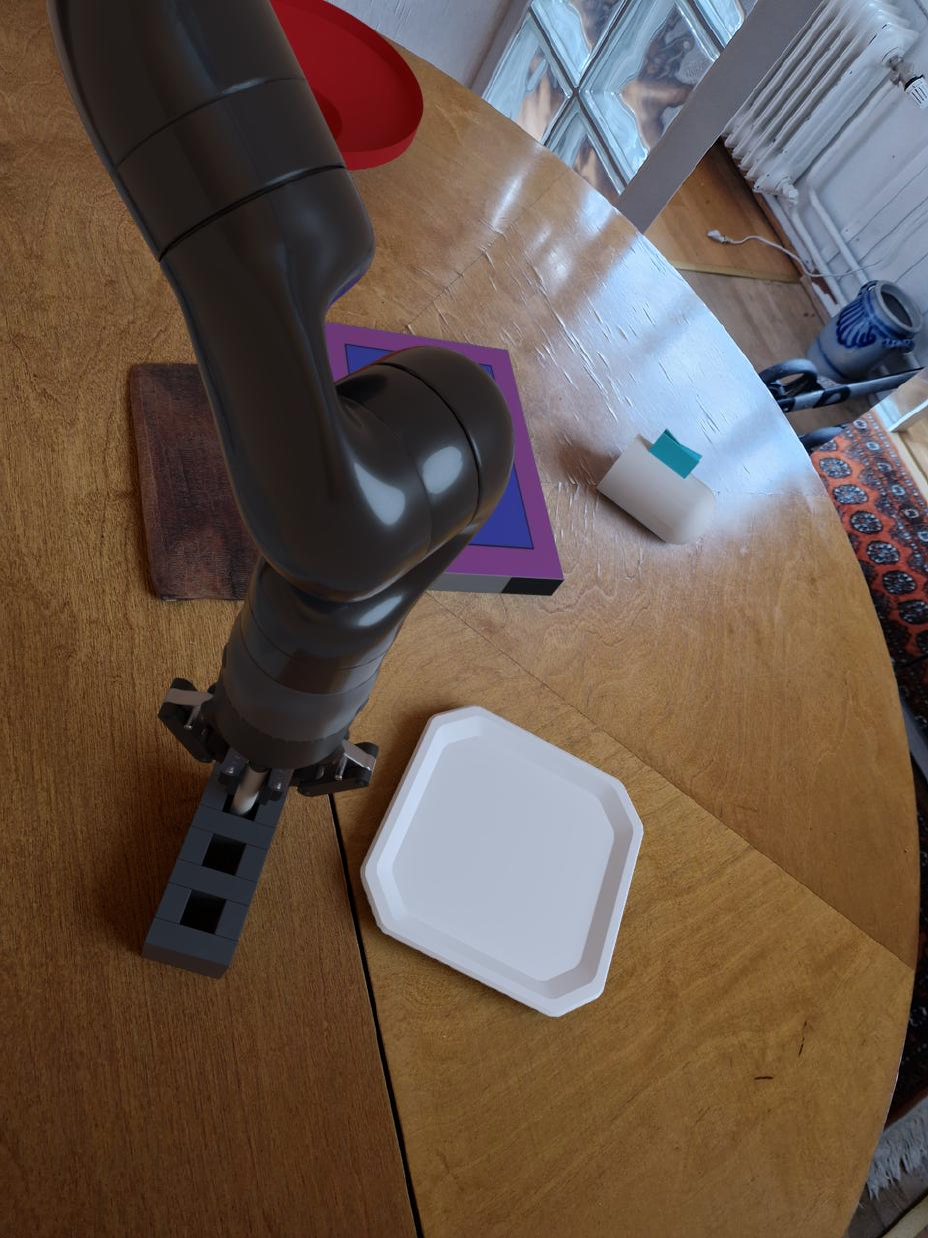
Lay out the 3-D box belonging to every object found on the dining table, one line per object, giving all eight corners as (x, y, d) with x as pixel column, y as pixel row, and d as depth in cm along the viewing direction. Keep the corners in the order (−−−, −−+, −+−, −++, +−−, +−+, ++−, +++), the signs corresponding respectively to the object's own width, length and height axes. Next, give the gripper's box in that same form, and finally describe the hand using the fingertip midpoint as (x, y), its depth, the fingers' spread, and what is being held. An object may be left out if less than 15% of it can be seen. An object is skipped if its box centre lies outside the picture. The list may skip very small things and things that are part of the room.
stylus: (223, 821, 65) (246, 761, 55) (232, 804, 66) (257, 742, 56) (241, 829, 65) (267, 771, 55) (249, 813, 66) (277, 752, 56)
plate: (436, 695, 77) (444, 684, 75) (641, 804, 79) (654, 796, 77) (334, 917, 65) (341, 910, 63) (579, 1040, 67) (593, 1037, 65)
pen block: (220, 980, 60) (229, 967, 56) (140, 957, 59) (144, 942, 55) (281, 800, 68) (293, 777, 64) (211, 777, 67) (219, 753, 63)
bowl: (148, 35, 110) (152, -54, 102) (384, 94, 121) (405, 18, 113) (150, 196, 96) (156, 108, 88) (417, 246, 107) (443, 172, 99)
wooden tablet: (125, 351, 82) (236, 350, 85) (127, 369, 84) (235, 367, 87) (150, 599, 71) (277, 588, 74) (152, 613, 73) (275, 601, 76)
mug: (739, 498, 89) (643, 425, 89) (681, 565, 93) (590, 495, 94) (747, 472, 99) (661, 406, 99) (694, 533, 103) (612, 470, 104)
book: (508, 349, 99) (564, 579, 85) (498, 369, 101) (551, 595, 87) (321, 320, 91) (349, 568, 77) (315, 342, 94) (341, 586, 80)
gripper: (437, 655, 49) (360, 768, 63) (194, 566, 47) (170, 704, 61) (405, 779, 45) (330, 870, 59) (137, 688, 42) (125, 806, 56)
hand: (249, 785), depth 59 cm, fingers closed
